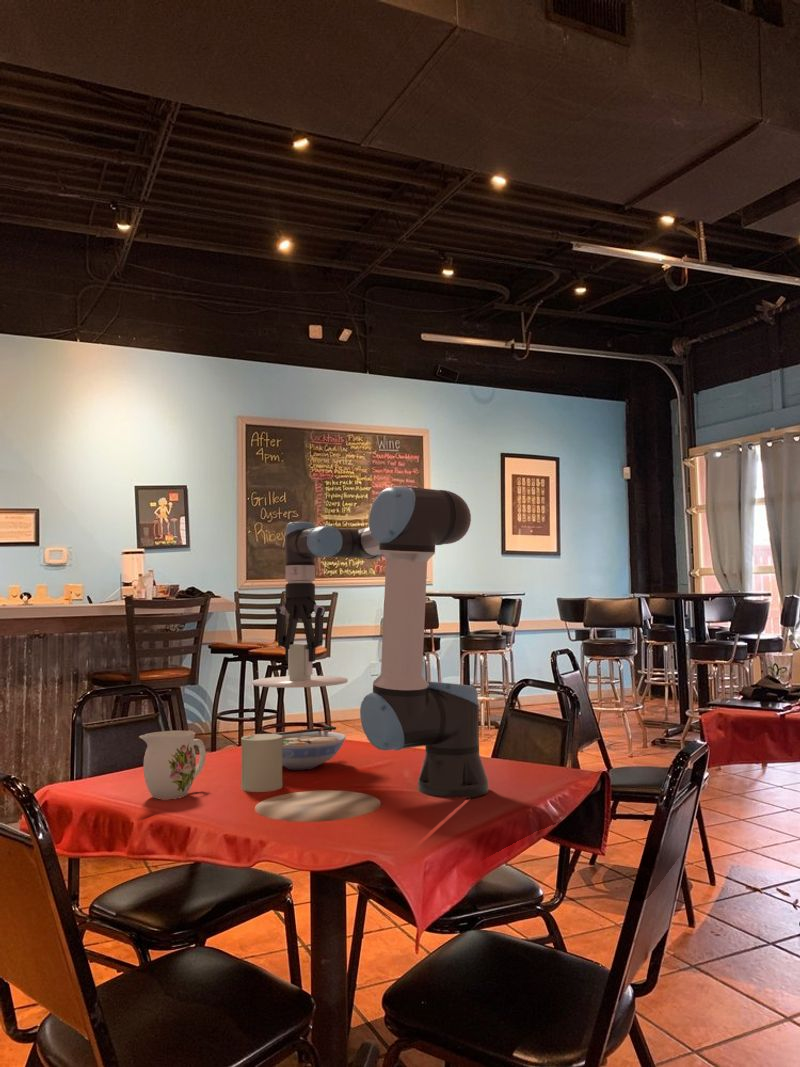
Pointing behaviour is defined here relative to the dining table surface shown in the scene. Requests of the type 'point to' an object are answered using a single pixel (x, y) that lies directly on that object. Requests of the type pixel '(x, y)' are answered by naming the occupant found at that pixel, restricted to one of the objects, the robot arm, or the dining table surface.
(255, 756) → the can
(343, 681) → the lid
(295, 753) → the ramen bowl
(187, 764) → the pitcher
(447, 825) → the dining table surface
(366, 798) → the disc
